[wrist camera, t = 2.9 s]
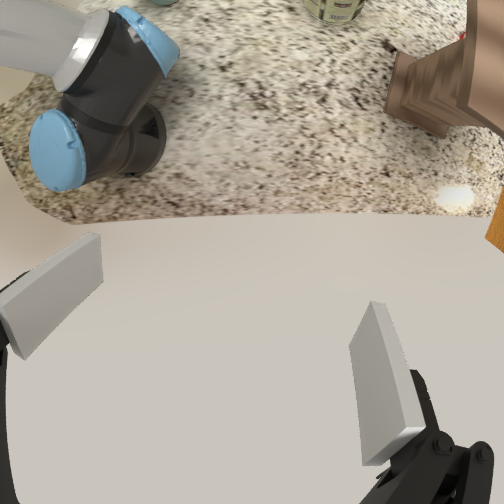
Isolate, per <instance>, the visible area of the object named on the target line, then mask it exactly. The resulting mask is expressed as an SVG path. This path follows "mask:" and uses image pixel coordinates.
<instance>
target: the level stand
mask: <svg viewBox="0 0 504 504" xmlns="http://www.w3.org/2000/svg"><path fill="white" fill-rule="evenodd" d="M383 112H384V113H387V114H389V115H391V116H394V117H396V118H398V119H401V120H403V121H405V122H407V123H410V124H412V125H414V126H416V127H418V128H420V129H422V130H424V131H426V132H428V133H430V134H432V135H434V136H436V137H438V138H440V139H445V137H446V134H447V130H448V126H449V125H467V126H481V127H488V128H489V129H491V130H492V131H493V132H495V133H496V134H497V135H499V136H500V137H502V138H503V139H504V0H467V23H466V37H465V38H463V39H460V40H458V41H456V42H454V43H452V44H450V45H448V46H446V47H444V48H442V49H439V50H437V51H435V52H433V53H431V54H429V55H428V56H426V57H424V58H422V59H420V60H418V59H416V58H414V57H412V56H410V55H408V54H405V53H403V52H401V51H400V52H398V53H397V54H396V59H395V64H394V69H393V73H392V78H391V82H390V86H389V91H388V95H387V99H386V103H385V107H384V111H383Z"/></svg>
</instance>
